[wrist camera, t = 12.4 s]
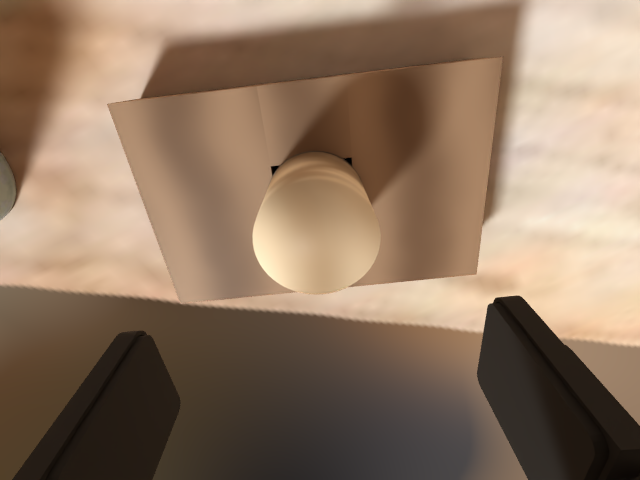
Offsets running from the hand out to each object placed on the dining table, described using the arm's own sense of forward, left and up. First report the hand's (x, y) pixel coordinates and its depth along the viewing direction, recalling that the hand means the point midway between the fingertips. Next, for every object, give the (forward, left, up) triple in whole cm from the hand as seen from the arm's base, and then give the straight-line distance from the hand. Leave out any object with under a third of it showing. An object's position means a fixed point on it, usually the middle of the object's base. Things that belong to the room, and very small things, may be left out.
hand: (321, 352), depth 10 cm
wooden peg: (0, 0, -17) cm, 17 cm away
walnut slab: (0, 0, -17) cm, 17 cm away
